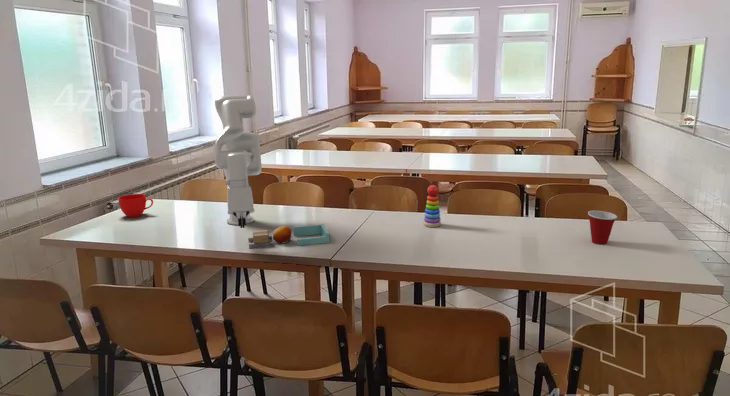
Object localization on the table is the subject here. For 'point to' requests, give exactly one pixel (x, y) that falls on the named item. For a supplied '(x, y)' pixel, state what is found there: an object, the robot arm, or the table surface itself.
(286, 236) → the fruit
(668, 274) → the table surface
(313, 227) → the teal u-shaped frame
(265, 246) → the launcher track
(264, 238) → the block
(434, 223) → the stacking toy
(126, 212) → the ceramic cup
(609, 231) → the plastic cup
